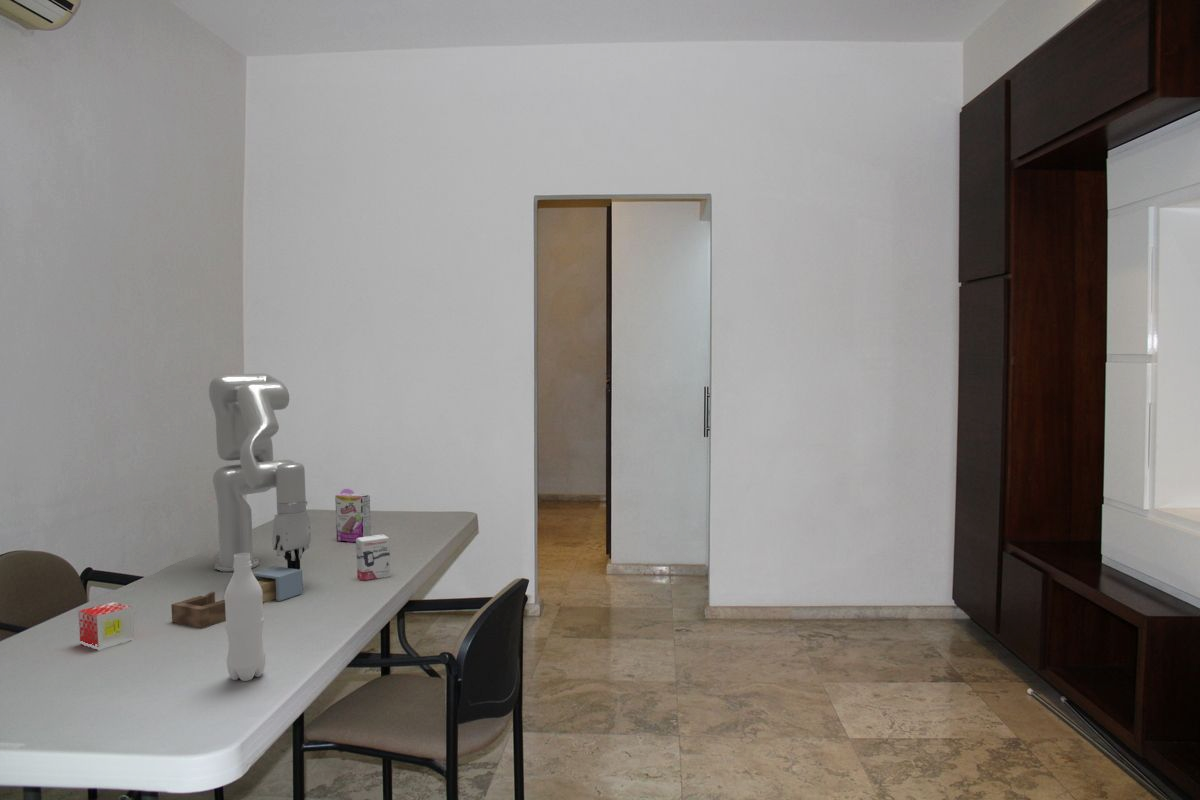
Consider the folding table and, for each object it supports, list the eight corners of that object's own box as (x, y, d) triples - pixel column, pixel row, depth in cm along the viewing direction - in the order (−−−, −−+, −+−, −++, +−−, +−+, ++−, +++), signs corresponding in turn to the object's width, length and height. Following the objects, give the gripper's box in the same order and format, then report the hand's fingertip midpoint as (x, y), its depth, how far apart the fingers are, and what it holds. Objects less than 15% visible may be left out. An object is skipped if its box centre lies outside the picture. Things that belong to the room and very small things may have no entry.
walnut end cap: (170, 622, 208) (169, 604, 208) (213, 608, 219) (212, 591, 219) (203, 628, 203) (203, 610, 203) (245, 614, 214) (244, 596, 213)
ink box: (362, 581, 243) (360, 540, 243) (356, 577, 247) (355, 537, 247) (391, 576, 248) (389, 536, 247) (385, 573, 252) (384, 533, 251)
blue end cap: (252, 596, 229) (251, 573, 229) (275, 588, 236) (274, 566, 236) (279, 601, 224) (278, 577, 224) (303, 593, 231) (302, 570, 231)
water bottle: (234, 671, 175) (229, 551, 174) (270, 669, 176) (265, 549, 174) (222, 684, 168) (216, 559, 167) (259, 682, 168) (254, 558, 167)
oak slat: (228, 609, 219) (227, 590, 218) (276, 593, 233) (276, 575, 233) (239, 611, 217) (238, 592, 217) (287, 595, 231) (286, 576, 231)
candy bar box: (335, 542, 296) (334, 495, 295) (344, 539, 300) (343, 493, 299) (363, 543, 292) (361, 496, 291) (371, 540, 297) (370, 494, 296)
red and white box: (98, 651, 189) (96, 616, 188) (80, 645, 193) (78, 610, 193) (134, 640, 196) (132, 606, 195) (115, 635, 200) (114, 601, 199)
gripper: (302, 502, 242) (304, 566, 243) (259, 511, 229) (262, 578, 230) (321, 504, 239) (324, 568, 240) (279, 513, 226) (282, 581, 227)
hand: (294, 573), depth 235 cm, fingers closed
